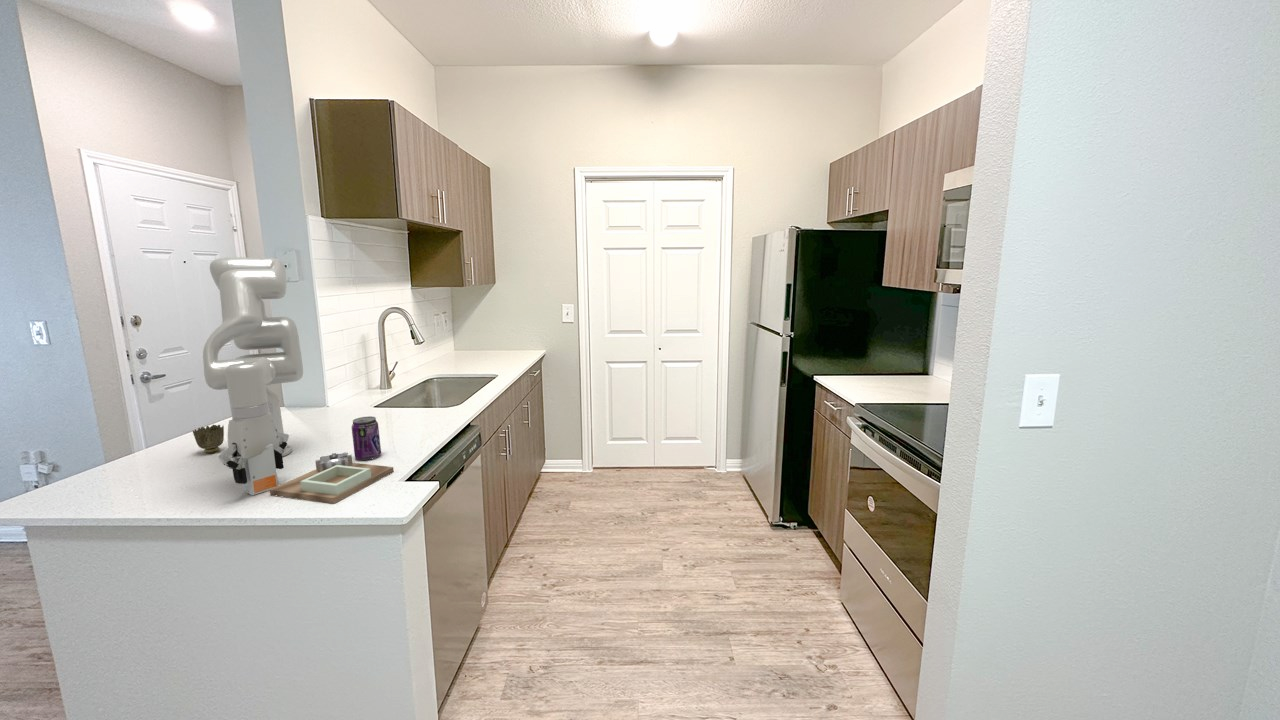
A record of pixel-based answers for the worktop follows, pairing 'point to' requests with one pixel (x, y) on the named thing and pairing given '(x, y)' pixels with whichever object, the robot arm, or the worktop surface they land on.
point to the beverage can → (366, 438)
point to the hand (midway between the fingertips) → (260, 475)
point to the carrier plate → (294, 485)
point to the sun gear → (333, 461)
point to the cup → (209, 438)
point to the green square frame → (320, 486)
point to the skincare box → (261, 472)
